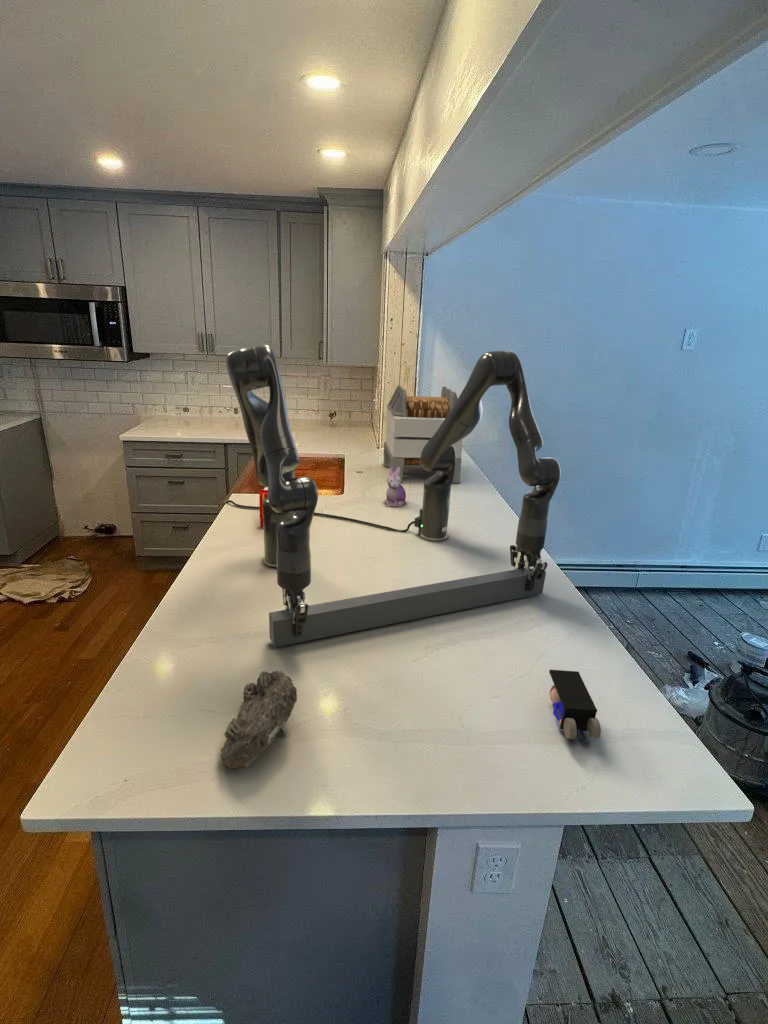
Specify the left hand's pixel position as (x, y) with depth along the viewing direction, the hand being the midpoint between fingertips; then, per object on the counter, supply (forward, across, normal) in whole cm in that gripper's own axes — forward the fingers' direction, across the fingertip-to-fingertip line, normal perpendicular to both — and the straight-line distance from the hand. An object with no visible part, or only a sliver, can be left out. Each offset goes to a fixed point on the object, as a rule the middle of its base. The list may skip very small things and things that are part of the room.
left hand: (294, 630), depth 132 cm
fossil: (+3, +26, -14) cm, 30 cm away
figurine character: (+3, +46, +42) cm, 63 cm away
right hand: (0, 0, +66) cm, 66 cm away
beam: (+2, 0, +33) cm, 33 cm away
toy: (+4, -84, +18) cm, 86 cm away
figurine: (+4, -83, +66) cm, 106 cm away
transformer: (+5, -121, +97) cm, 155 cm away
